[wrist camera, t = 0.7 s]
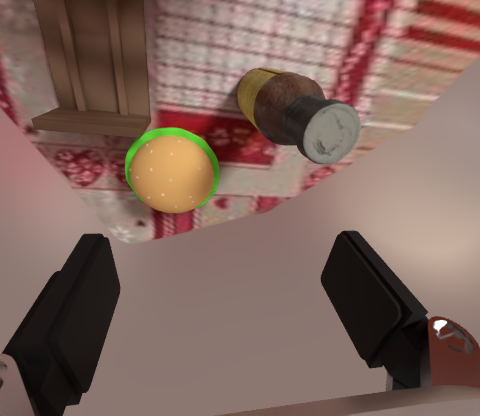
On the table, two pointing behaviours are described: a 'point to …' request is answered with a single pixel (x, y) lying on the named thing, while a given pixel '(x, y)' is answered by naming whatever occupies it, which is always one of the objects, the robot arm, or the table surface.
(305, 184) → the table surface
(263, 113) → the sauce bottle
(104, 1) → the holder
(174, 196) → the hamburger
